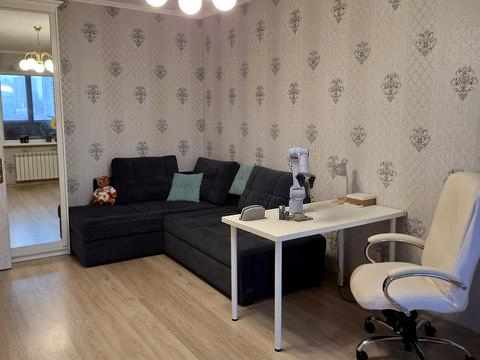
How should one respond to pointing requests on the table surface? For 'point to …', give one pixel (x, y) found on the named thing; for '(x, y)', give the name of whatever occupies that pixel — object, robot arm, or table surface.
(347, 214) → the table surface
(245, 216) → the grey napkin holder
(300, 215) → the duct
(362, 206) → the table surface
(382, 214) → the table surface
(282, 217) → the elbow
